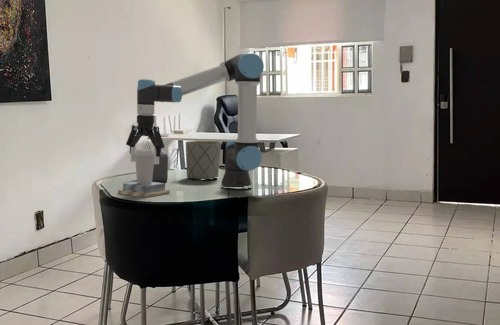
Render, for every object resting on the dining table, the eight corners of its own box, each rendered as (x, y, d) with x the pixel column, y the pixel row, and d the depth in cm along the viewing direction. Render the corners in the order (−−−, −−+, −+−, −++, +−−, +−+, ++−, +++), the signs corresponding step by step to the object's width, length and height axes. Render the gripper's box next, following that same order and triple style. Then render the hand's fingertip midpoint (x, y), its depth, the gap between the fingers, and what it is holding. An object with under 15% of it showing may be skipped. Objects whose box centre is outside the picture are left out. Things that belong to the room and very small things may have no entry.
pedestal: (169, 193, 256) (169, 183, 255) (145, 197, 242) (145, 187, 241) (142, 189, 264) (142, 180, 263) (118, 193, 250) (118, 183, 250)
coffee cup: (136, 185, 246) (136, 150, 245) (131, 182, 255) (132, 148, 253) (157, 184, 250) (158, 150, 249) (152, 181, 259) (153, 148, 257)
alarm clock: (167, 182, 290) (168, 152, 288) (145, 182, 286) (145, 152, 284) (161, 178, 305) (161, 149, 304) (140, 178, 301) (140, 149, 300)
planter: (177, 178, 308) (178, 141, 306) (202, 175, 322) (203, 140, 320) (202, 182, 295) (203, 144, 293) (227, 179, 310) (228, 143, 308)
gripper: (118, 113, 253) (118, 161, 255) (161, 116, 240) (160, 165, 242) (130, 113, 259) (129, 160, 261) (173, 116, 246) (172, 164, 248)
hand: (144, 162), depth 251 cm, fingers open, 13 cm apart
